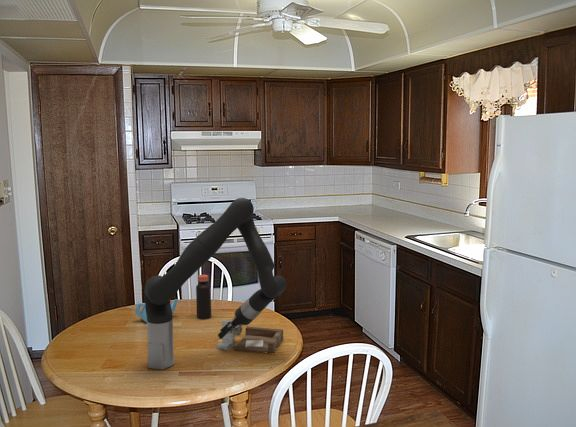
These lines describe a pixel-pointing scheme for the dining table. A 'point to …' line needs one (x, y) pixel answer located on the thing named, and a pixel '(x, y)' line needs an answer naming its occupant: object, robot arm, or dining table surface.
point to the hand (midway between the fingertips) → (225, 333)
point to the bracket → (226, 339)
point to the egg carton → (236, 330)
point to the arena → (260, 340)
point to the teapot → (143, 313)
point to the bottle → (203, 297)
